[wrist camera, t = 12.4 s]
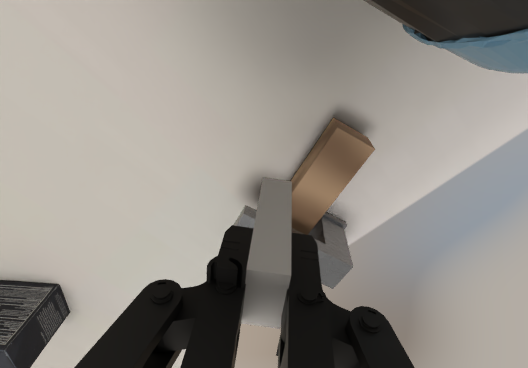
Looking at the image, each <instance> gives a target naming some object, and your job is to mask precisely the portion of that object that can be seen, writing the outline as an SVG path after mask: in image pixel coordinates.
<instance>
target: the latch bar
mask: <svg viewBox="0 0 528 368" xmlns="http://www.w3.org/2000/svg"><path fill="white" fill-rule="evenodd" d="M374 150H375V148H374V147H373V145H372V144H371V142H370V140H369V139H368V137H366V136H364V135H362V134H361V133H359V132H357V131H356V130H354V129H352V128H350V127H349V126H347V125H345V124H343V123H342V122H340V121H338V120H337V119H335V118H333V119H332V121H331V122H330V123H329V125H328V126H327V128H326V129H325V131H324V132H323V134H322V135H321V137H320V138H319V140H318V141H317V143H316V144H315V146H314V147H313V149H312V150H311V152H310V153H309V155H308V156H307V158H306V159H305V160H304V162H303V163H302V165H301V166H300V168H299V169H298V171H297V172H296V174H295V175H294V177H293V178H292V180H291V181H292V228H294V229H296V230H298V231H300V232H302V233H304V234H306V235H308V234H309V233H310V231H311V230H312V229H313V228H314V226H315V225H316V224H317V222H318V221H319V220H320V219H321V217H322V216H323V215H324V213H325V212H326V211H327V210H328V208H329V207H330V206H331V205H332V203H333V202H334V201H335V199H336V198H337V197H338V196H339V194H340V193H341V192H342V190H343V189H344V188H345V187H346V185H347V184H348V183H349V182H350V180H351V179H352V178H353V176H354V175H355V174H356V173H357V171H358V170H359V169H360V168H361V166H362V165H363V164H364V162H365V161H366V160H367V159H368V157H369V156H370V155H371V153H372V152H373V151H374Z"/></svg>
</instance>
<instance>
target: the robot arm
mask: <svg viewBox="0 0 528 368" xmlns="http://www.w3.org/2000/svg"><path fill="white" fill-rule="evenodd" d="M364 1H366V2H367V3H369V4H371V5H372V6H374V7H376V8H377V9H379V10H380V11H382V12H384V13H385V14H387V15H389V16H390V17H392V18H394V19H395V20H397V21H399V22H400V23H402V24H403V28H404V30H405V31H406V32H407V33H408V34H410V35H411V36H412V37H413V38H415V39H417V40H418V41H420V42H422V43H425V44H427V45H433V46H436V47H438V48H445V49H447V50H448V51H450V52H452V53H454V54H456V55H458V56H460V57H462V58H463V59H465V60H467V61H469V62H471V63H473V64H475V65H477V66H480V67H483V68H486V69H489V70H496V71H502V72H508V73H528V0H364ZM291 229H292V181H285V180H278V179H270V178H263V179H262V184H261V190H260V196H259V201H258V207H257V212H256V218H255V224H254V228H249V227H241V226H234V225H232V226H231V227H230V228H229V229H228V230H227V231H226V232H225V234H224V238H223V242H222V244H221V248H220V251H219V254H218V256H217V257H215V258H213V259H212V260H210V262H209V263H208V265H207V281H206V282H205V283H203V284H201V285H199V286H195V287H189V288H181V287H180V285H179V284H178V283H176V282H174V281H172V280H166V279H165V280H157V281H155V282H152V283H150V284H149V285H148V286H146V287H145V288H144V289H143V290H142V291H141V293H140V294H139V295H138V296H137V297H136V298H135V299H134V300H133V302H132V303H131V304H130V305H129V306H128V307H127V308H126V310H125V311H124V312H123V313H122V314H121V315H120V316H119V318H118V319H117V320H116V321H115V322H114V323H113V324H112V326H111V327H110V328H109V329H108V330H107V331H106V332H105V333H104V335H103V336H102V337H101V338H100V339H99V340H98V341H97V343H96V344H95V345H94V346H93V347H92V348H91V349H90V351H89V352H88V353H87V354H86V355H85V356H84V357H83V358H82V360H81V361H80V362H79V363H78V364H77V365H76V366H75V368H171V367H172V366H173V364H174V362H175V361H176V359H177V357H178V356H179V354H180V352H181V350H182V349H186V352H185V355H184V358H183V361H182V364H181V368H234V366H235V360H236V354H237V347H238V341H239V334H240V326H241V323H243V324H250V325H257V326H264V327H271V328H278V329H280V327H281V335H280V340H279V344H278V349H277V354H276V355H277V356H278V368H414V366H413V364H412V362H411V361H410V359H409V357H408V356H407V354H406V352H405V350H404V348H403V347H402V345H401V343H400V341H399V340H398V338H397V336H396V334H395V332H394V331H393V329H392V327H391V325H390V323H389V322H388V320H387V319H386V318H385V317H384V315H382V314H381V313H380V312H378V311H377V310H375V309H373V308H370V307H364V306H360V307H356V308H354V309H353V310H352V311H351V312H350V311H348V310H346V309H343V308H341V307H339V306H337V305H335V304H333V303H332V302H331V301H330V300H328V298H327V297H326V295H325V293H324V292H323V290H322V285H321V275H320V265H319V255H318V246H317V242H316V241H315V239H314V238H313V236H312V235H305V234H298V233H291Z"/></svg>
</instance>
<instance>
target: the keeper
mask: <svg viewBox="0 0 528 368" xmlns="http://www.w3.org/2000/svg"><path fill="white" fill-rule="evenodd" d="M256 212H257V210H255V209H253V208H251V207H249V206H246V205H245V207H244V208H243V210H242V212H241V213H240V215H239V217H238V218H237V220H236V222H235V223H234V226H241V227H249V228H254V224H255V218H256ZM346 226H347V225H346V222H345V221H343V220H341V219H339V218H337V217H335V216H333V215H331V214H329V213H327V212H325V213H324V215H323V216H322V217H321V219H320V220H319V221H318V222H317V224H316V225H315V226H314V228H313V229H312V230H311V231H310V233H309V234H308V235H312V236H313V238H314V239H315V241H316V242H317V246H318V255H319V265H320V275H321V284H323V285H326V286H328V287H330V288H332V289H333V288H334V287H335V286H336V285H337V284H338V283H339V282H340V281H341V279H342V278H343V277H344V276H345V275H346V274H347V273H348V272H349V271H350V269H352V268H353V264H352V260H351V256H350V252H349V248H348V244H347V240H346V235H345V231H344V229H345V227H346ZM291 233H298V234H304V233H302V232H300V231H298V230H296V229H294V228H292V229H291ZM305 235H306V234H305Z"/></svg>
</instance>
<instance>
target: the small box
mask: <svg viewBox="0 0 528 368" xmlns="http://www.w3.org/2000/svg"><path fill="white" fill-rule="evenodd" d="M69 313H70V311H69V309H68V306H67V303H66V301H65V298H64V295H63V293H62V290H61V288H60V286H59V285H58V284H46V283H30V282H15V281H0V368H30V367H31V366H32V364H33V363H34V362H35V360H36V359H37V357H38V356H39V354H40V353H41V352H42V350H43V349H44V348H45V346H46V345H47V343H48V342H49V341H50V339H51V338H52V336H53V335H54V334H55V332H56V331H57V330H58V328H59V327H60V325H61V324H62V323H63V321H64V320H65V318H66V317H67V316H68V314H69Z"/></svg>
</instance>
